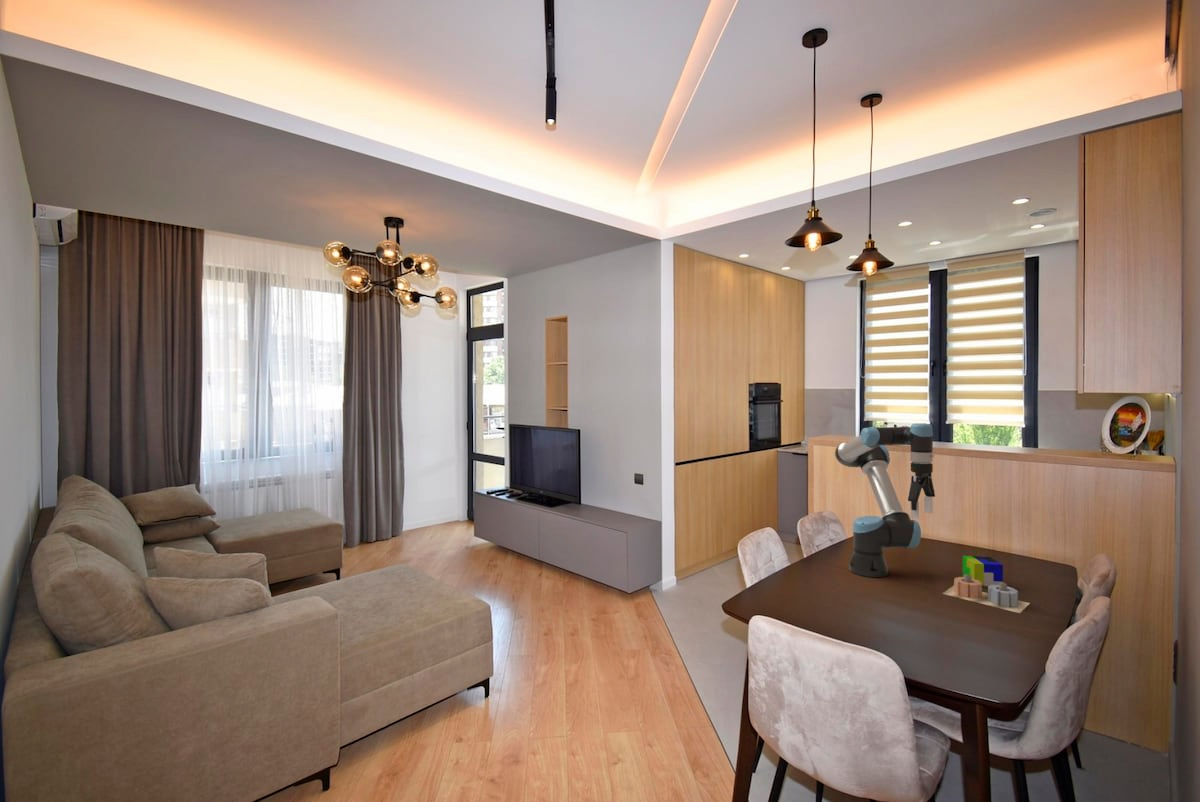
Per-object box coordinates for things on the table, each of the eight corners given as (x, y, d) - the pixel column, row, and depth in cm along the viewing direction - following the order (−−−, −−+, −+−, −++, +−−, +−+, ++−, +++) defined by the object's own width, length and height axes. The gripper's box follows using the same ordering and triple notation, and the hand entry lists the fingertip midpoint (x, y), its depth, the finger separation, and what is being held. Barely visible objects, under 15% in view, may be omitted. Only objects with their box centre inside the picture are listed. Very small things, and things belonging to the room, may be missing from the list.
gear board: (942, 596, 205) (942, 575, 205) (954, 588, 213) (954, 567, 213) (1019, 616, 186) (1019, 593, 186) (1029, 606, 195) (1029, 584, 194)
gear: (990, 604, 194) (990, 591, 194) (986, 596, 201) (986, 583, 201) (1019, 608, 190) (1019, 594, 190) (1014, 600, 197) (1014, 587, 197)
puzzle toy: (1002, 590, 211) (1002, 564, 210) (974, 588, 213) (974, 563, 212) (989, 581, 220) (989, 556, 220) (962, 579, 222) (962, 555, 222)
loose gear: (951, 593, 205) (951, 580, 205) (959, 588, 210) (958, 575, 210) (977, 600, 198) (977, 586, 198) (984, 594, 203) (984, 581, 203)
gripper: (919, 466, 203) (919, 522, 204) (943, 460, 219) (943, 511, 220) (898, 464, 209) (898, 518, 210) (923, 458, 225) (923, 508, 226)
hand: (921, 515), depth 215 cm, fingers open, 13 cm apart
